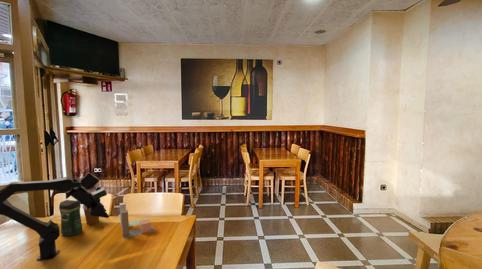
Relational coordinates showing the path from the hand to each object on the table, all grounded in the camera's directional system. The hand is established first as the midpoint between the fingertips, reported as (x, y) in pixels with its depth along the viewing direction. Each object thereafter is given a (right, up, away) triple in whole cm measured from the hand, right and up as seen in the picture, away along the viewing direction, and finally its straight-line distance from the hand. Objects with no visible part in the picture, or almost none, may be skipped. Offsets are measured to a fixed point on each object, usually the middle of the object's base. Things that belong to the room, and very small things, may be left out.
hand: (107, 214), depth 128 cm
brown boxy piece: (+14, -13, +6) cm, 20 cm away
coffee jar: (-24, -13, +8) cm, 28 cm away
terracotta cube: (+17, -11, +8) cm, 22 cm away
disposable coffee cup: (-20, -12, +20) cm, 31 cm away
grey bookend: (+8, -12, +17) cm, 22 cm away
